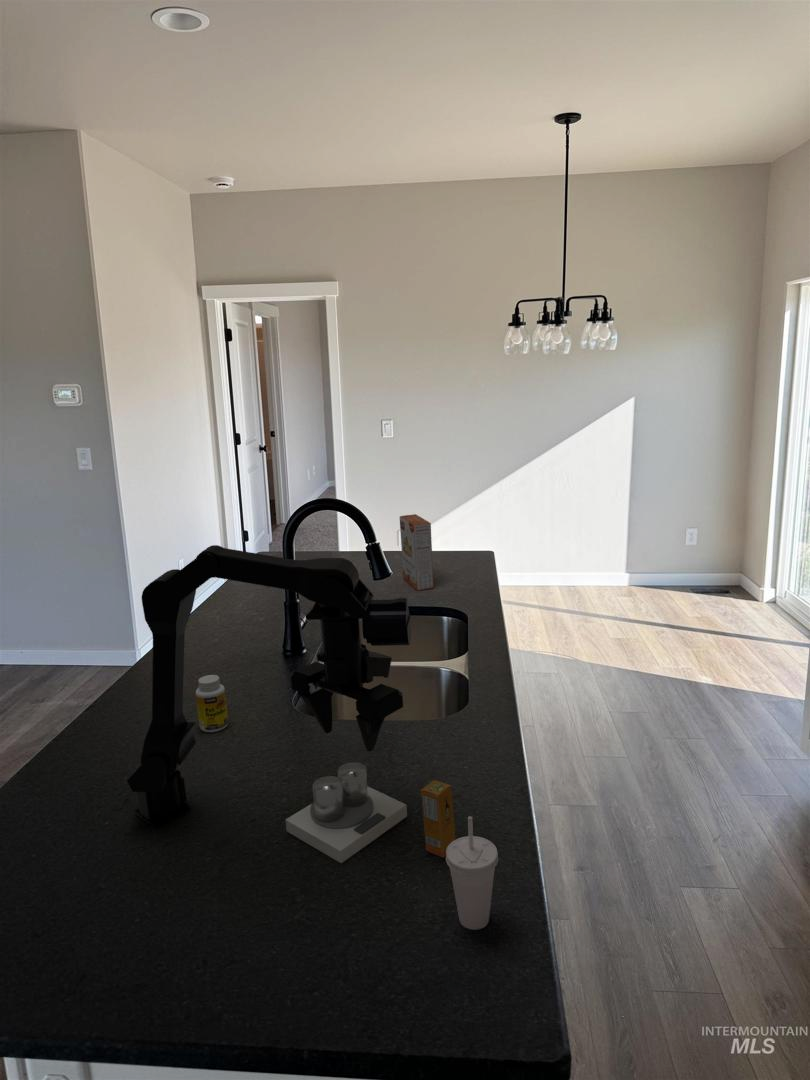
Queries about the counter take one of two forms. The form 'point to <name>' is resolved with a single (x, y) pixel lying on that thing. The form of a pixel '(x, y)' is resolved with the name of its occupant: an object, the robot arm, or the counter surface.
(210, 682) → the supplement bottle
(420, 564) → the cracker box
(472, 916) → the smoothie
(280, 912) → the counter surface
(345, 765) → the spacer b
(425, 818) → the supplement box
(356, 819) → the scale
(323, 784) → the spacer
